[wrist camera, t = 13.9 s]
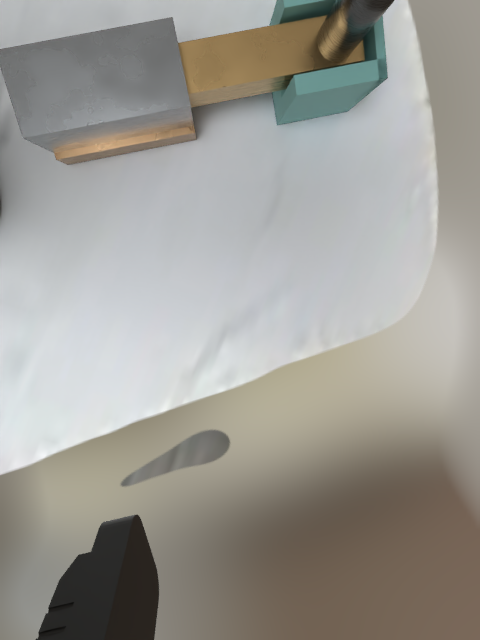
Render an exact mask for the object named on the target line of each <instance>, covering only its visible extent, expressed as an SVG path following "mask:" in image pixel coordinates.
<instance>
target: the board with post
mask: <svg viewBox="0 0 480 640" xmlns="http://www.w3.org/2000/svg"><path fill="white" fill-rule="evenodd" d="M393 1H394V0H336V1H335V3H334V4H333V6H332V8H331V10H330V12H329V13H328V15H325V16H320V17H314V18H309V19H304V20H298V21H293V22H288V23H283V24H277V25H272V26H267V27H261V28H256V29H251V30H245V31H240V32H235V33H229V34H224V35H219V36H214V37H208V38H203V39H198V40H192V41H187V42H182V43H178V46H179V51H180V56H181V61H182V66H183V71H184V76H185V80H186V85H187V90H188V95H189V100H190V105H191V108H192V107H197V106H202V105H207V104H213V103H218V102H223V101H228V100H233V99H238V98H244V97H249V96H254V95H259V94H264V93H269V92H275V91H280V90H285V89H287V87H288V85H289V83H290V82H291V80H292V78H293V76H294V75H298V74H303V73H309V72H314V71H319V70H324V69H329V68H335V67H340V66H345V65H350V64H355V63H361V62H364V61H365V56H364V45H363V38H364V37H365V36H366V34H367V33H368V32H369V31H370V30H371V28H372V27H373V26H374V25H375V23H376V22H377V21H378V20H379V19H380V17H381V16H382V15H383V14H384V12H385V11H386V10H387V9H388V7H389V6H390V5H391V4H392V3H393Z"/></svg>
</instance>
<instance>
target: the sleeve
mask: <svg viewBox="0 0 480 640" xmlns="http://www.w3.org/2000/svg"><path fill="white" fill-rule="evenodd" d="M0 67H1V70H2V74H3V77H4V80H5V83H6V86H7V89H8V93H9V96H10V99H11V102H12V105H13V108H14V111H15V115H16V118H17V121H18V124H19V127H20V130H21V134H22V137H23V138H24V139H26V140H28V141H30V142H32V143H34V144H36V145H39V146H41V147H43V148H45V149H47V150H49V151H51V152H53V153H54V154H55V157H56V160H58V161H60V162H63V163H65V164H67V165H70V164H75V163H80V162H85V161H90V160H95V159H101V158H106V157H111V156H116V155H121V154H126V153H131V152H136V151H141V150H147V149H152V148H157V147H162V146H167V145H172V144H177V143H182V142H187V141H192V140H196V134H195V128H194V123H193V117H192V111H191V105H190V100H189V95H188V90H187V85H186V80H185V76H184V71H183V66H182V61H181V56H180V51H179V46H178V42H177V37H176V32H175V27H174V22H173V17H171V18H166V19H160V20H155V21H150V22H144V23H139V24H133V25H128V26H123V27H117V28H112V29H107V30H101V31H96V32H91V33H85V34H80V35H75V36H69V37H64V38H58V39H53V40H48V41H42V42H37V43H32V44H26V45H21V46H16V47H10V48H5V49H0Z"/></svg>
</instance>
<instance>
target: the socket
mask: <svg viewBox="0 0 480 640" xmlns="http://www.w3.org/2000/svg"><path fill="white" fill-rule="evenodd" d="M335 1H336V0H277V2H276V5H275V9H274V12H273V15H272V19H271V22H270V26H272V25H277V24H283V23H288V22H293V21H298V20H304V19H309V18H314V17H320V16H325V15H328V13H329V12H330V10H331V8H332V6H333V4H334V3H335ZM363 45H364V56H365V61H364V62H361V63H355V64H350V65H345V66H340V67H335V68H329V69H324V70H319V71H314V72H309V73H303V74H298V75H294V76H293V78H292V80H291V82H290V83H289V85H288V87H287V89H285V90H280V91H275V92H272V96H273V102H274V108H275V115H276V121H277V125H281V124H286V123H291V122H296V121H301V120H306V119H311V118H317V117H322V116H327V115H332V114H337V113H342V112H347V111H349V110H350V109H351V108H352V107H353V106H355V105H356V104H357V103H358V102H359V101H361V100H362V99H363V98H364V97H365V96H367V95H368V94H369V93H370V92H371V91H373V90H374V89H375V88H376V87H377V86H379V85H380V84H381V83H382V82H383V81H385V80H386V79H387V78H388V77H387V65H386V53H385V41H384V29H383V16H381V17H380V19H379V20H378V21H377V22H376V23H375V25H374V26H373V27H372V28H371V30H370V31H369V32H368V33H367V34H366V36H365V37H364V38H363Z"/></svg>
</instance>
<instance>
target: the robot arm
mask: <svg viewBox="0 0 480 640" xmlns="http://www.w3.org/2000/svg"><path fill="white" fill-rule="evenodd" d="M158 600H159V582H158V574H157V569H156V565H155V562H154V559H153V556H152V553H151V549H150V546H149V543H148V540H147V536H146V533H145V530H144V527H143V524H142V521H141V519H140V517H139V516H138V515H132V516H128V517H124V518H120V519H115V520H111V521H106V522H103V523H102V524H101V526H100V528H99V530H98V534H97V536H96V539H95V542H94V545H93V548H92V551H91V552H89V553H85V554H81V555H78V556H77V558H76V559H75V560H74V562H73V563H72V564H71V565H70V567H69V568H68V569H67V571H66V572H65V574H64V575H63V576H62V577H61V579H60V580H59V583H58V585H57V588H56V590H55V593H54V595H53V598H52V600H51V603H50V605H49V612H48V613H47V614H46V615H45V618H44V620H43V623H42V625H41V628H40V630H39V637H38V639H36V640H154V635H155V627H156V618H157V609H158Z"/></svg>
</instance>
